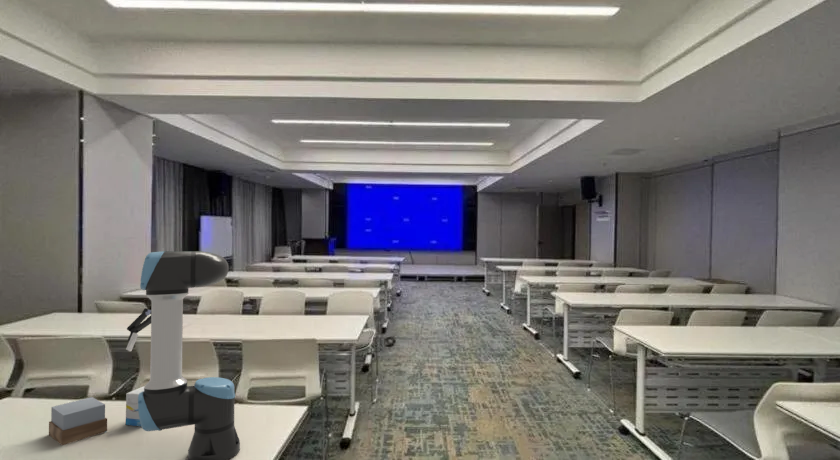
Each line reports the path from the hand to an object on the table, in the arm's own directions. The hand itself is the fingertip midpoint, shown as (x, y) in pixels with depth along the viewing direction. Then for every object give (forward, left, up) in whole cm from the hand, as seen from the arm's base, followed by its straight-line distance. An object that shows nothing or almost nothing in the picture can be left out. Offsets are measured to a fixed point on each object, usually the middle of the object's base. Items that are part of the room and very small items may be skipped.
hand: (146, 352), depth 170 cm
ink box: (-2, +1, -25) cm, 25 cm away
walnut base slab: (+6, +19, -25) cm, 33 cm away
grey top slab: (+6, +19, -20) cm, 29 cm away
